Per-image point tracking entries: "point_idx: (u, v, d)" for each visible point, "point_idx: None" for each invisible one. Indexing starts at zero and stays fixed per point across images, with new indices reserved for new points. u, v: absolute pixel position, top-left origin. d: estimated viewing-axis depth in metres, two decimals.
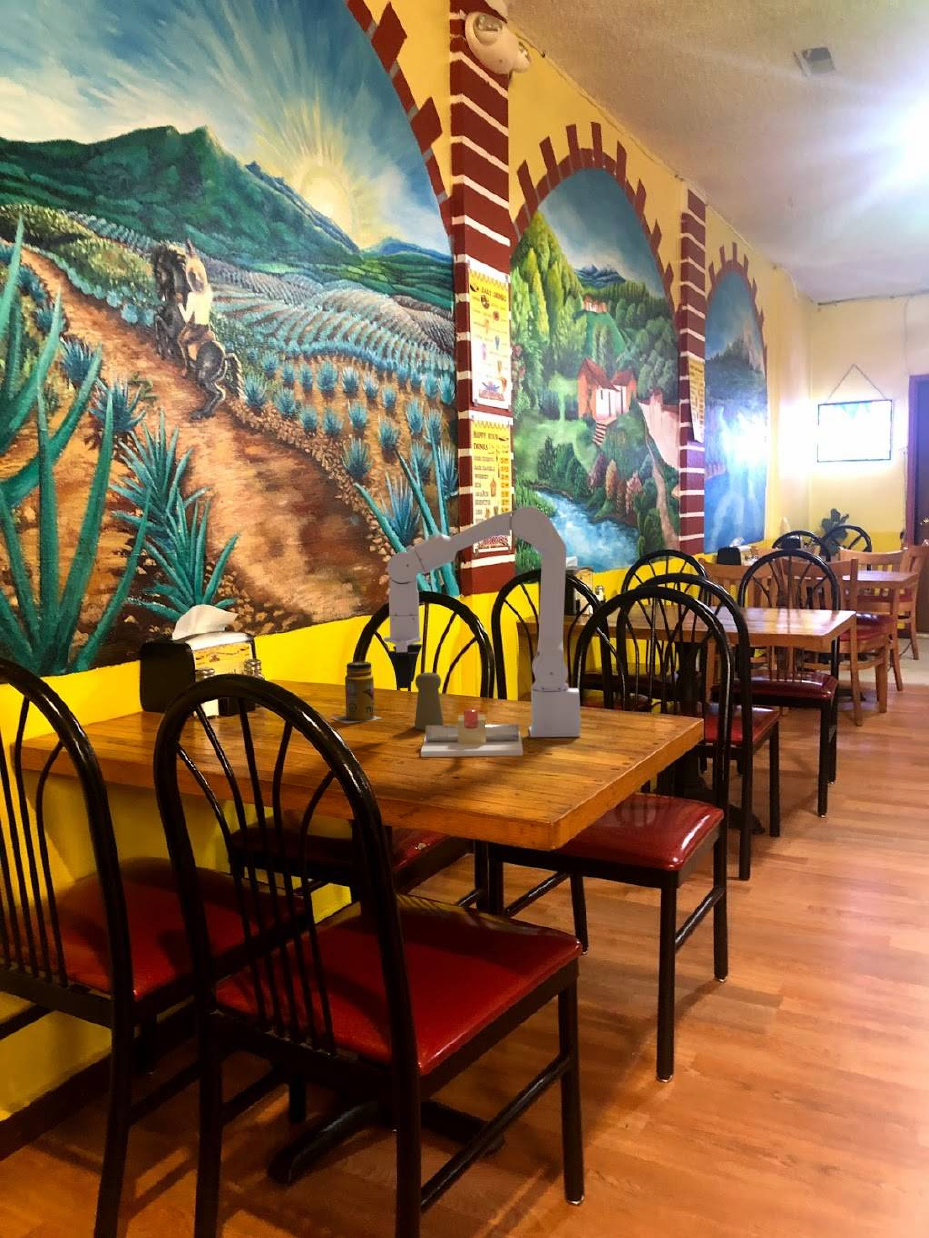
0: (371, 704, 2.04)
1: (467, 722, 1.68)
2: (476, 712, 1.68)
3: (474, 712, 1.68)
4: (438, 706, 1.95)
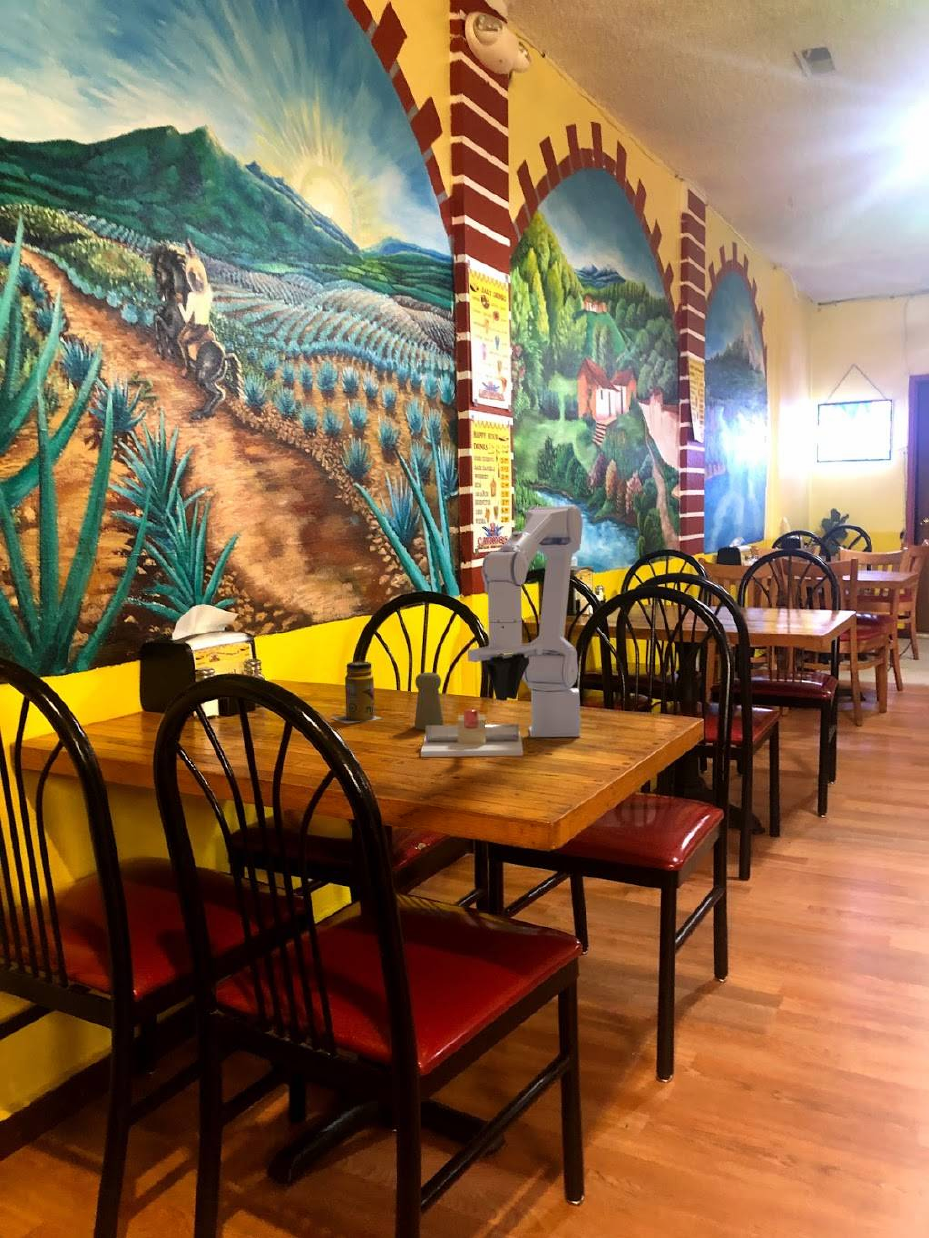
0: (371, 704, 2.04)
1: (467, 722, 1.68)
2: (476, 712, 1.68)
3: (474, 712, 1.68)
4: (438, 706, 1.95)
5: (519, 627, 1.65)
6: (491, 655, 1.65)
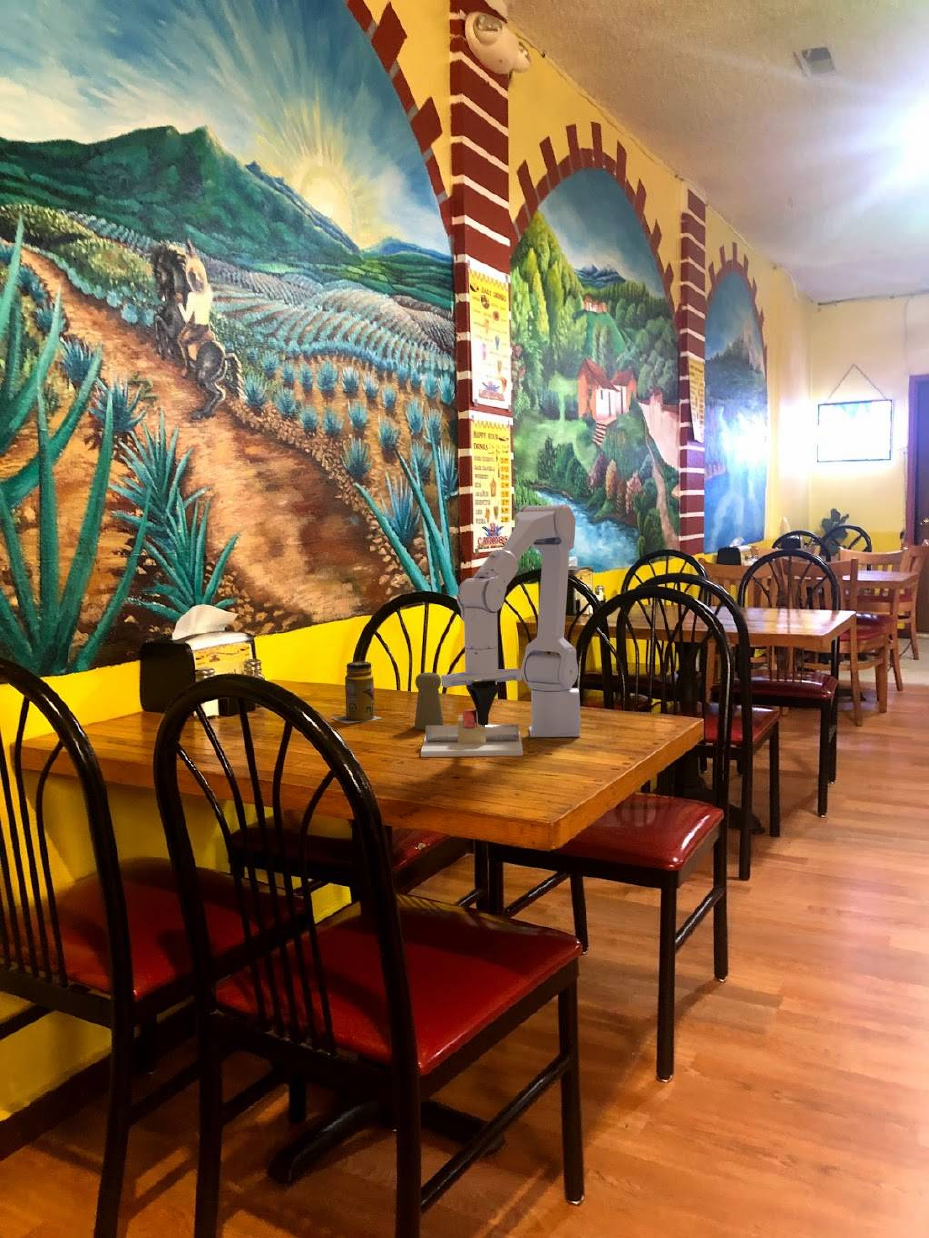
0: (371, 704, 2.04)
1: (466, 722, 1.68)
2: (475, 712, 1.68)
3: (473, 712, 1.68)
4: (438, 706, 1.95)
5: (493, 653, 1.66)
6: (465, 681, 1.66)
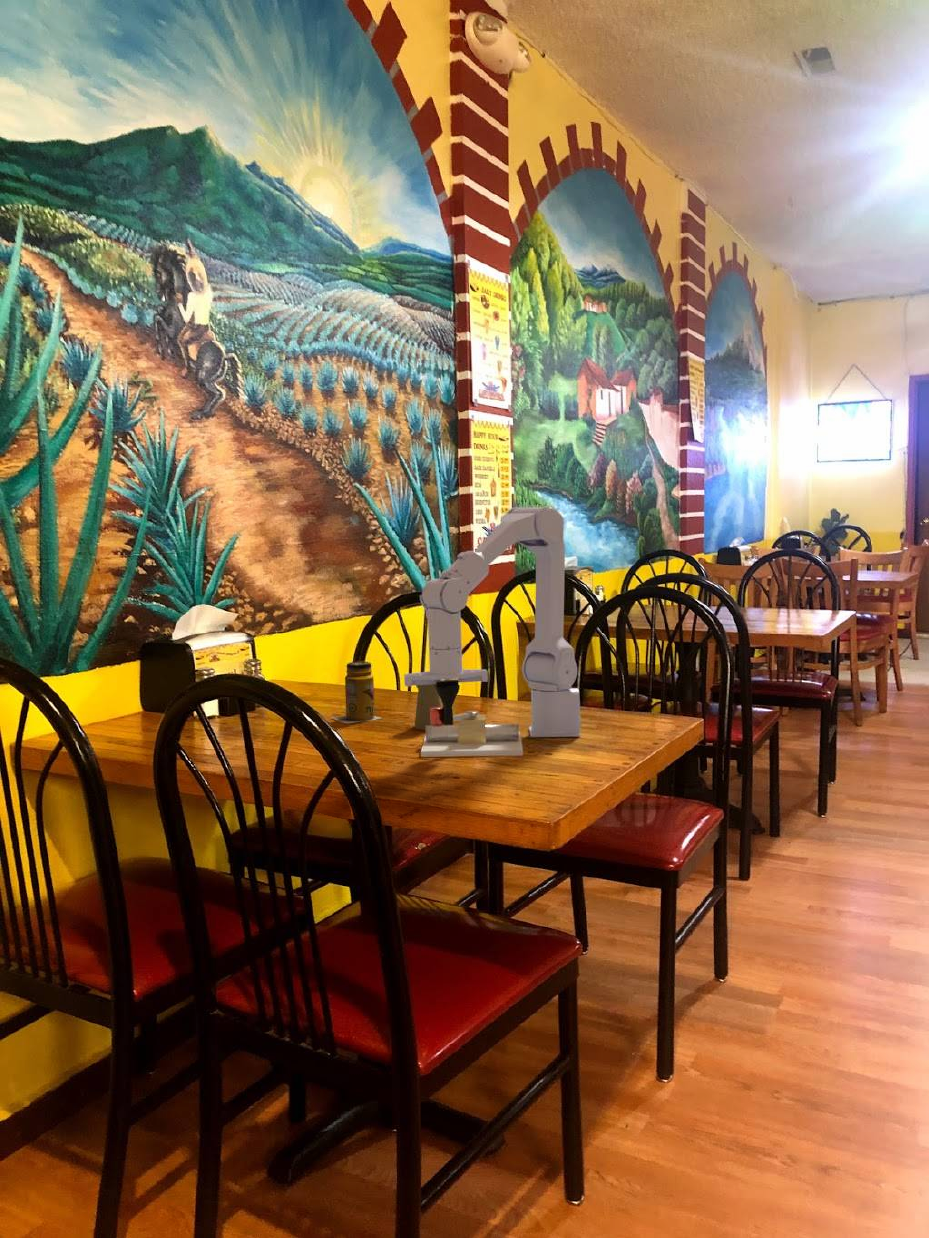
0: (371, 704, 2.04)
1: (430, 719, 1.71)
2: (438, 710, 1.70)
3: (435, 710, 1.70)
4: (438, 706, 1.95)
5: (454, 654, 1.67)
6: (428, 680, 1.69)
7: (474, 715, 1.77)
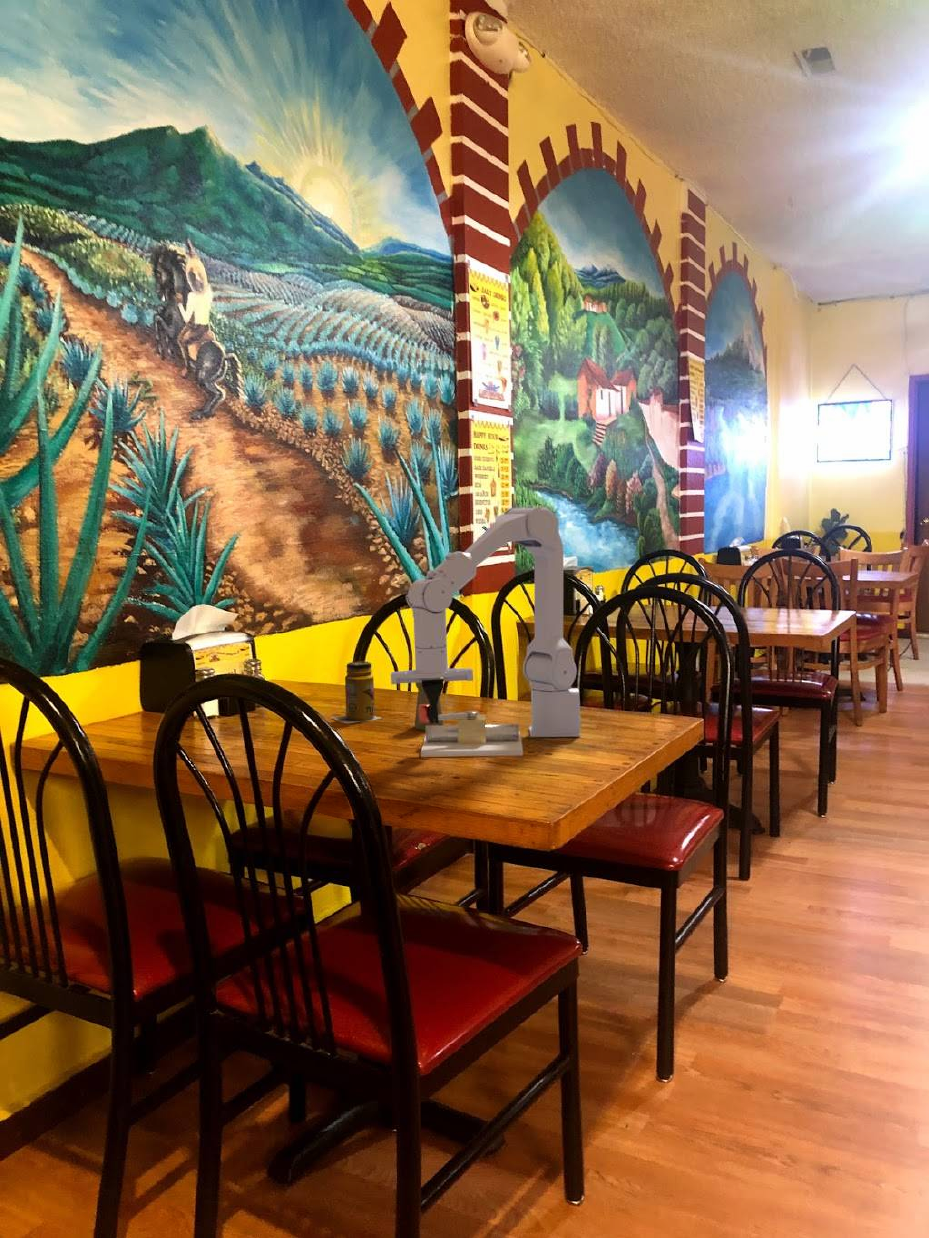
0: (371, 704, 2.04)
1: None
2: (423, 707, 1.73)
3: (421, 707, 1.73)
4: (438, 706, 1.95)
5: (437, 653, 1.69)
6: (414, 678, 1.71)
7: (471, 715, 1.77)
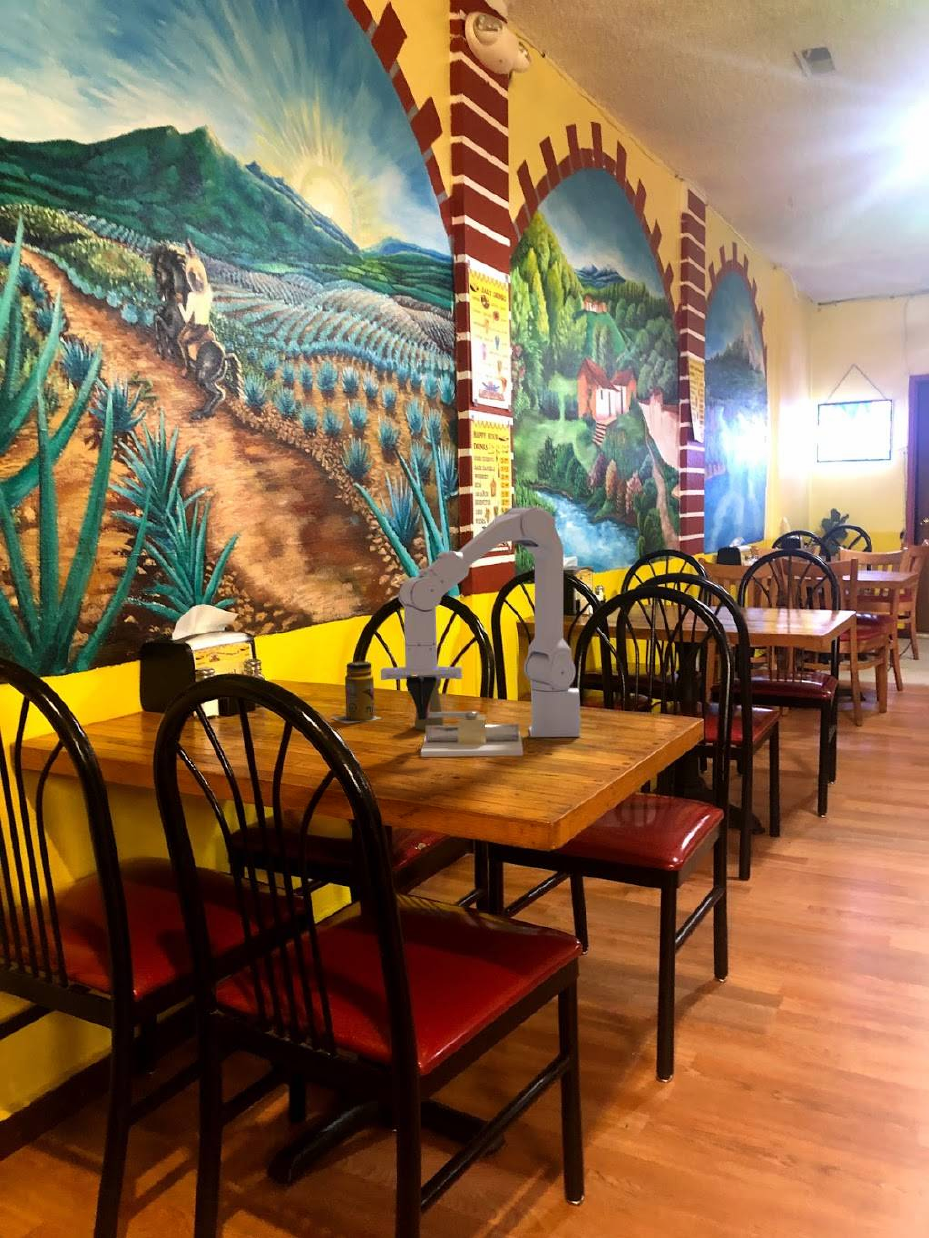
0: (371, 704, 2.04)
1: None
2: None
3: None
4: (438, 706, 1.95)
5: (425, 651, 1.71)
6: (403, 675, 1.74)
7: (469, 715, 1.77)
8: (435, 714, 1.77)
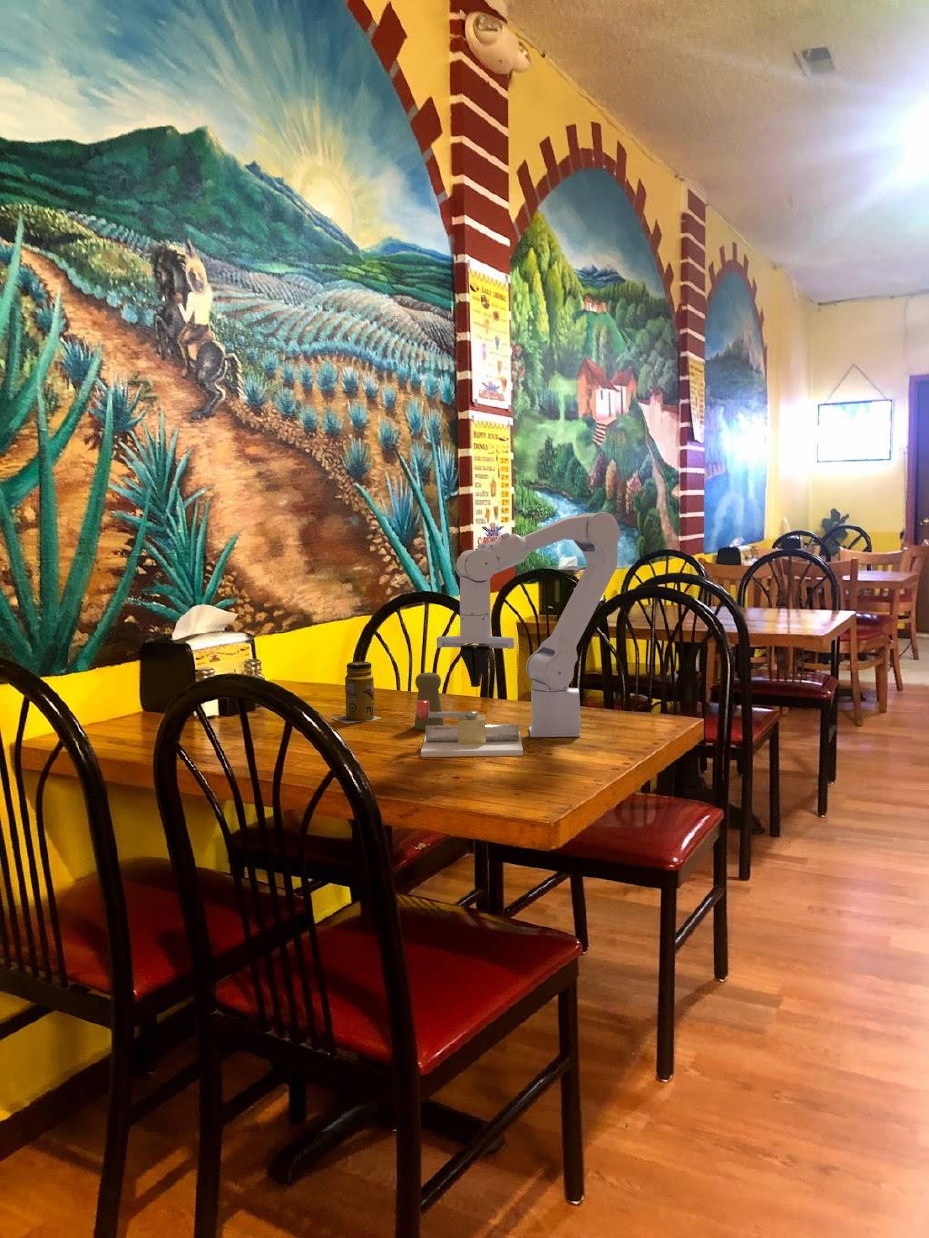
0: (371, 704, 2.04)
1: None
2: (418, 703, 1.77)
3: (416, 703, 1.77)
4: (438, 706, 1.95)
5: (478, 620, 1.78)
6: (458, 643, 1.82)
7: (469, 715, 1.77)
8: (435, 714, 1.77)
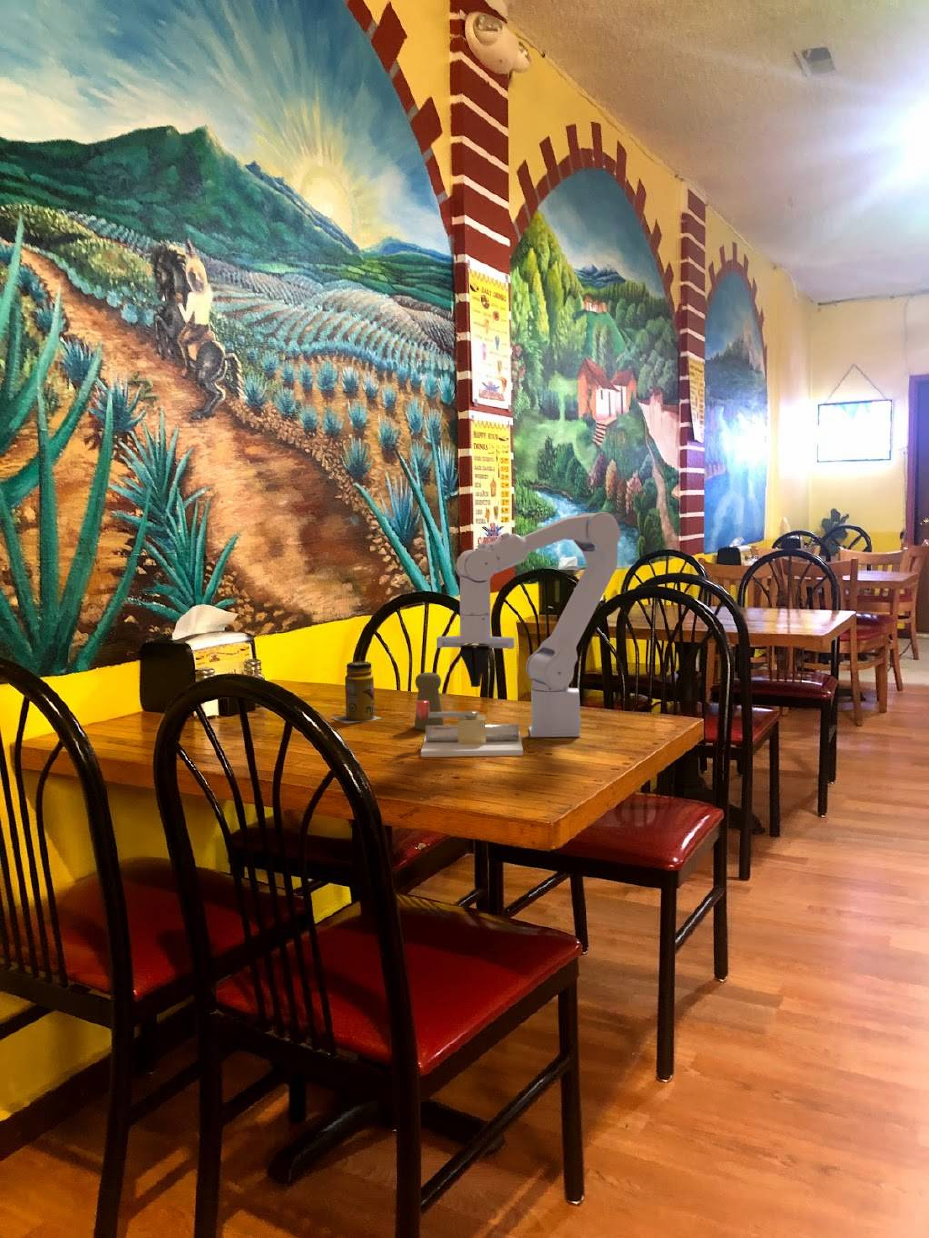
0: (371, 704, 2.04)
1: None
2: (418, 703, 1.77)
3: (416, 703, 1.77)
4: (438, 706, 1.95)
5: (478, 620, 1.78)
6: (458, 643, 1.82)
7: (469, 715, 1.77)
8: (435, 714, 1.77)
